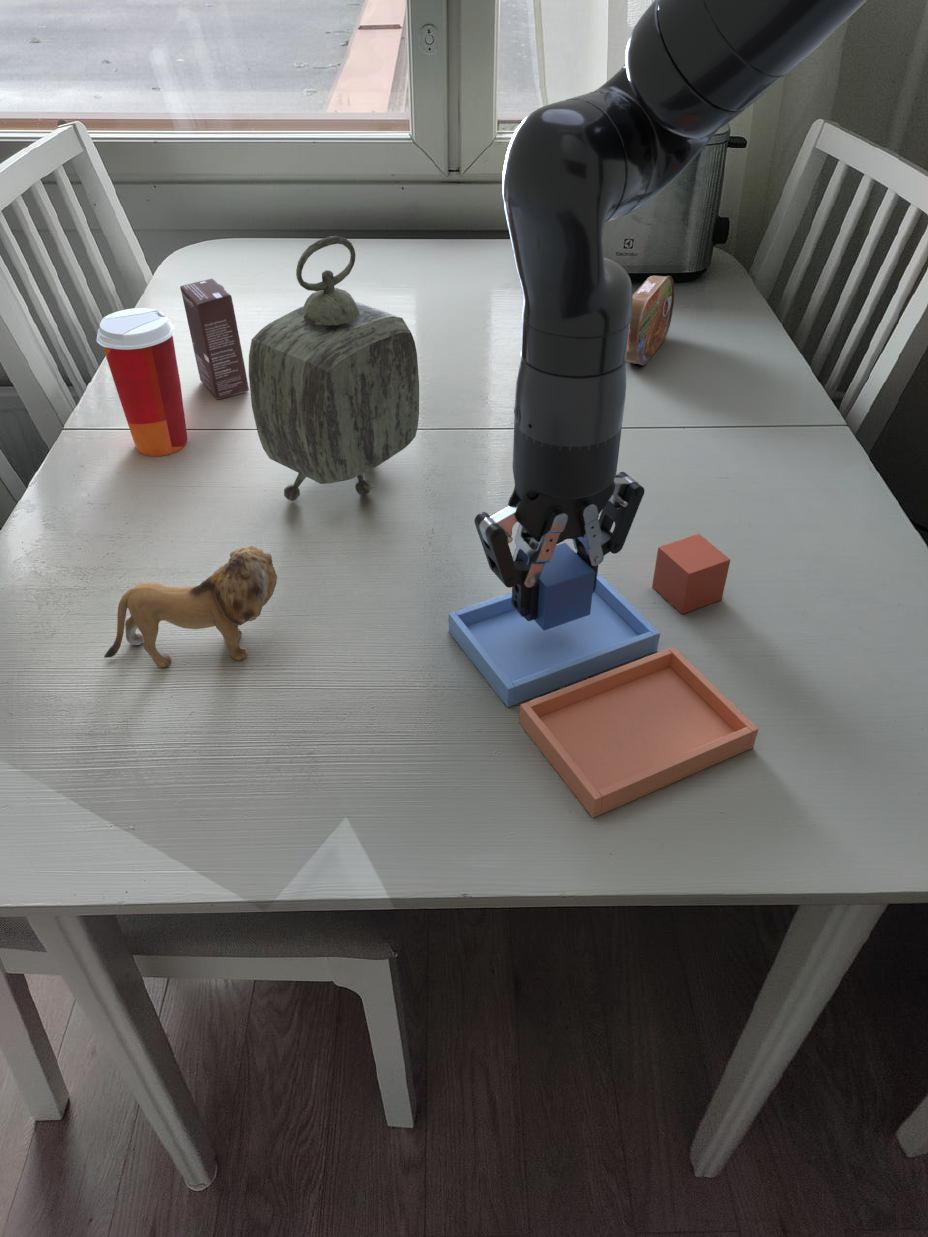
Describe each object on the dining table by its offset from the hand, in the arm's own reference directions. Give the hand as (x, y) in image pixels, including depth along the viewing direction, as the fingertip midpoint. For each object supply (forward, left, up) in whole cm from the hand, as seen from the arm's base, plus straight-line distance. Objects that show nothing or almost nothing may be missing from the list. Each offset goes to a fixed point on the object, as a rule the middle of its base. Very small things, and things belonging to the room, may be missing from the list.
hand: (553, 604), depth 78 cm
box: (+11, -58, -4) cm, 59 cm away
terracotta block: (-14, 0, -4) cm, 15 cm away
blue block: (0, 0, 0) cm, 0 cm away
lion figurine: (+26, -13, -4) cm, 29 cm away
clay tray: (0, +12, -4) cm, 13 cm away
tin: (-40, -43, -4) cm, 59 cm away
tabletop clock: (+6, -30, -4) cm, 31 cm away
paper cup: (+21, -48, -4) cm, 53 cm away
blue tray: (0, 0, -4) cm, 4 cm away
